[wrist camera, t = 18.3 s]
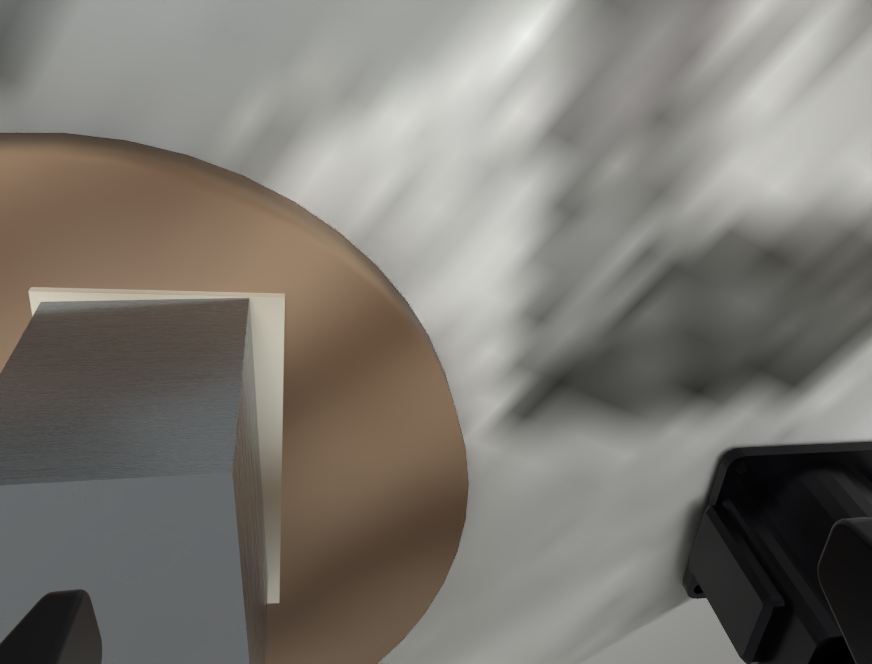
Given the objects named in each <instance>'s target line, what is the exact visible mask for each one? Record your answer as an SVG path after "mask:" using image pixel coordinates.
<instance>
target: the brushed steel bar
mask: <svg viewBox="0 0 872 664" xmlns="http://www.w3.org/2000/svg"><path fill="white" fill-rule="evenodd" d="M76 589H82V590H85V591H87V593H88V594H89V596H90V598H91V601H92V605H93V609H94V612H95V616H96V620H97V624H98V627H99V631H100V635H101V639H102V662H101V664H265V655H266V625H267V595H268V571H267V556H266V541H265V526H264V511H263V496H262V481H261V466H260V451H259V436H258V421H257V405H256V390H255V375H254V360H253V345H252V330H251V315H250V300H249V298H214V299H162V300H110V301H58V302H41V303H40V304H39V306H38V308H37V310H36V311H35V313H34V315H33V317H32V318H31V320H30V322H29V324H28V326H27V327H26V329H25V331H24V333H23V334H22V336H21V338H20V340H19V341H18V343H17V345H16V347H15V348H14V350H13V352H12V354H11V356H10V357H9V359H8V361H7V363H6V364H5V366H4V368H3V370H2V371H1V373H0V643H1V642H2V641H3V640H4V639H5V637H6V636H7V635H8V634H9V633H10V632H11V631H12V630H13V629H14V627H15V626H16V625H17V624H18V623H19V622H20V621H21V620H22V619H23V618H24V616H25V615H26V614H27V613H28V612H29V611H30V610H31V609H32V608H33V606H34V605H35V604H36V603H37V602H38V601H39V600H40V599H41V598H42V597H43V596H44V595H46V594H47V593H50V592H54V591H65V590H76Z"/></svg>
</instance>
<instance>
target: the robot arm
mask: <svg viewBox="0 0 872 664" xmlns="http://www.w3.org/2000/svg"><path fill="white" fill-rule="evenodd" d="M739 463H740V464H739ZM737 464H739V465H737ZM736 465H737V466H736ZM682 585H683V587H684V588H685V590H686V592H687V594H688V596H689V597H691V598H697V599H698V598H707V599H708V601H709V603H710V605H711V606H712V608H713V610H714V612H715V614H716V615H717V617H718V619H719V621H720V622H721V624H722V626H723V628H724V630H725V631H726V633H727V635H728V637H729V639H730V640H731V642H732V644H733V645H734V647H735V649H736V651H737V653H738V655H739V656H740V658H741V659H742V660H743V661H744V662H745V663H746V664H872V442H862V443H840V444H818V445H796V446H774V447H751V448H737V449H733V450H731V451H729V452H728V453H727V454H726V455H725V456H724V457H723V459H722V461H721V464H720V467H719V470H718V473H717V476H716V479H715V482H714V485H713V488H712V491H711V495H710V498H709V501H708V504H707V507H706V510H705V512H704V513H703V517H702V520H701V523H700V526H699V529H698V532H697V535H696V538H695V542H694V545H693V548H692V551H691V554H690V557H689V560H688V566H687V569H686V572H685V575H684V579H683V584H682ZM101 662H102V639H101V635H100V631H99V627H98V624H97V620H96V616H95V612H94V609H93V605H92V601H91V598H90V596H89V594H88V593H87V591H85V590H82V589H76V590H65V591H54V592H50V593H47V594H46V595H44V596H43V597H42V598H41V599H40V600H39V601H38V602H37V603H36V604H35V605H34V606H33V608H32V609H31V610H30V611H29V612H28V613H27V614H26V615H25V616H24V618H23V619H22V620H21V621H20V622H19V623H18V624H17V625H16V626H15V627H14V629H13V630H12V631H11V632H10V633H9V634H8V635H7V636H6V637H5V639H4V640H3V641H2V642H1V643H0V664H101Z"/></svg>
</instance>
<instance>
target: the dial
mask: <svg viewBox="0 0 872 664" xmlns="http://www.w3.org/2000/svg"><path fill="white" fill-rule="evenodd" d="M214 298H249V300H250V315H251V330H252V345H253V360H254V375H255V390H256V405H257V421H258V436H259V451H260V466H261V481H262V496H263V511H264V526H265V541H266V556H267V571H268V595H267V625H266V655H265V664H377V663H378V662H380V661H381V660H382V659H383V658H384V657H385V656H386V655H387V654H388V653H389V652H390V651H391V650H392V649H393V648H394V647H395V646H397V645H398V644H399V643H400V642H401V641H402V640H403V639H404V638H405V636H406V635H407V634H408V633H409V632H410V630H411V629H412V628H413V627H414V626H415V624H416V623H417V622H418V621H419V620H420V618H421V617H422V616H423V615H424V614H425V612H426V611H427V609H428V607H429V606H430V604H431V603H432V601H433V599H434V598H435V596H436V595H437V593H438V591H439V590H440V588H441V587H442V585H443V583H444V581H445V579H446V576H447V574H448V572H449V569H450V567H451V565H452V562H453V560H454V558H455V556H456V553H457V550H458V546H459V542H460V538H461V534H462V531H463V527H464V523H465V518H466V507H467V495H468V473H467V461H466V449H465V444H464V440H463V436H462V433H461V429H460V425H459V421H458V417H457V413H456V409H455V406H454V403H453V399H452V396H451V392H450V389H449V386H448V382H447V379H446V376H445V372H444V370H443V368H442V365H441V363H440V361H439V359H438V356H437V354H436V352H435V349H434V347H433V345H432V343H431V340H430V338H429V336H428V334H427V333H426V331H425V329H424V328H423V326H422V325H421V323H420V322H419V320H418V318H417V317H416V315H415V314H414V312H413V310H412V309H411V307H410V306H409V304H408V303H407V301H406V300H405V298H404V297H403V296H402V295H401V294H400V293H399V291H398V290H397V289H396V288H395V287H394V286H393V284H392V283H391V282H390V281H389V280H388V279H387V277H386V276H385V275H384V274H383V273H382V272H381V270H380V269H379V268H378V267H377V266H376V265H375V264H374V263H373V262H372V261H371V260H370V259H369V258H367V257H366V256H365V255H364V254H363V253H362V252H361V251H360V250H358V249H357V248H356V247H355V246H354V245H353V244H352V243H351V242H349V241H348V240H347V239H346V238H345V237H344V236H343V235H341V234H340V233H339V232H338V231H337V230H335V229H334V228H332V227H331V226H329V225H328V224H326V223H325V222H323V221H322V220H320V219H319V218H317V217H316V216H314V215H313V214H311V213H310V212H309V211H307V210H306V209H304V208H303V207H301V206H300V205H298V204H297V203H295V202H294V201H292V200H290V199H288V198H286V197H284V196H282V195H280V194H278V193H276V192H274V191H272V190H270V189H268V188H266V187H264V186H262V185H260V184H258V183H256V182H254V181H253V180H251V179H249V178H247V177H245V176H242V175H240V174H237V173H234V172H232V171H229V170H226V169H223V168H221V167H218V166H215V165H213V164H210V163H207V162H204V161H202V160H199V159H196V158H194V157H191V156H188V155H184V154H180V153H176V152H172V151H168V150H164V149H159V148H155V147H151V146H147V145H143V144H139V143H135V142H130V141H126V140H117V139H109V138H101V137H92V136H84V135H75V134H67V133H0V373H1V371H2V370H3V368H4V366H5V364H6V363H7V361H8V359H9V357H10V356H11V354H12V352H13V350H14V348H15V347H16V345H17V343H18V341H19V340H20V338H21V336H22V334H23V333H24V331H25V329H26V327H27V326H28V324H29V322H30V320H31V318H32V317H33V315H34V313H35V311H36V310H37V308H38V306H39V304H40V303H41V302H58V301H110V300H162V299H214Z"/></svg>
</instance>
